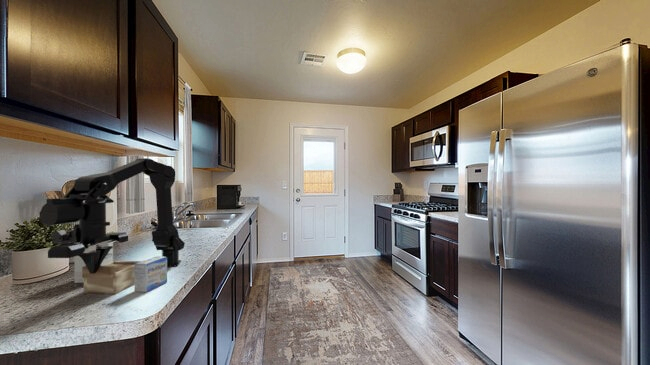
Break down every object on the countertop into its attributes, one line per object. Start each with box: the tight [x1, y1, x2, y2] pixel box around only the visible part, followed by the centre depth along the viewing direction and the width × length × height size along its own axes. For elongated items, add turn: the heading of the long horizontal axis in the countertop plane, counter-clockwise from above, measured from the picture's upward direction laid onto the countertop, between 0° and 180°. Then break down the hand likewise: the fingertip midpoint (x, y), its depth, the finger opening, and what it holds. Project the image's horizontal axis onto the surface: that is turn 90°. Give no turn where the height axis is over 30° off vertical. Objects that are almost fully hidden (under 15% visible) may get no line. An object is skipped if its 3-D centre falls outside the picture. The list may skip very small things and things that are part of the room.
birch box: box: [83, 260, 143, 295], centre depth 80 cm, size 11×10×6 cm
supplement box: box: [74, 241, 114, 284], centre depth 86 cm, size 7×7×13 cm
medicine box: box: [134, 255, 168, 293], centre depth 79 cm, size 8×4×9 cm, turn 168°
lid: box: [82, 264, 134, 278], centre depth 78 cm, size 10×9×3 cm
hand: (93, 273), depth 72 cm, fingers closed
